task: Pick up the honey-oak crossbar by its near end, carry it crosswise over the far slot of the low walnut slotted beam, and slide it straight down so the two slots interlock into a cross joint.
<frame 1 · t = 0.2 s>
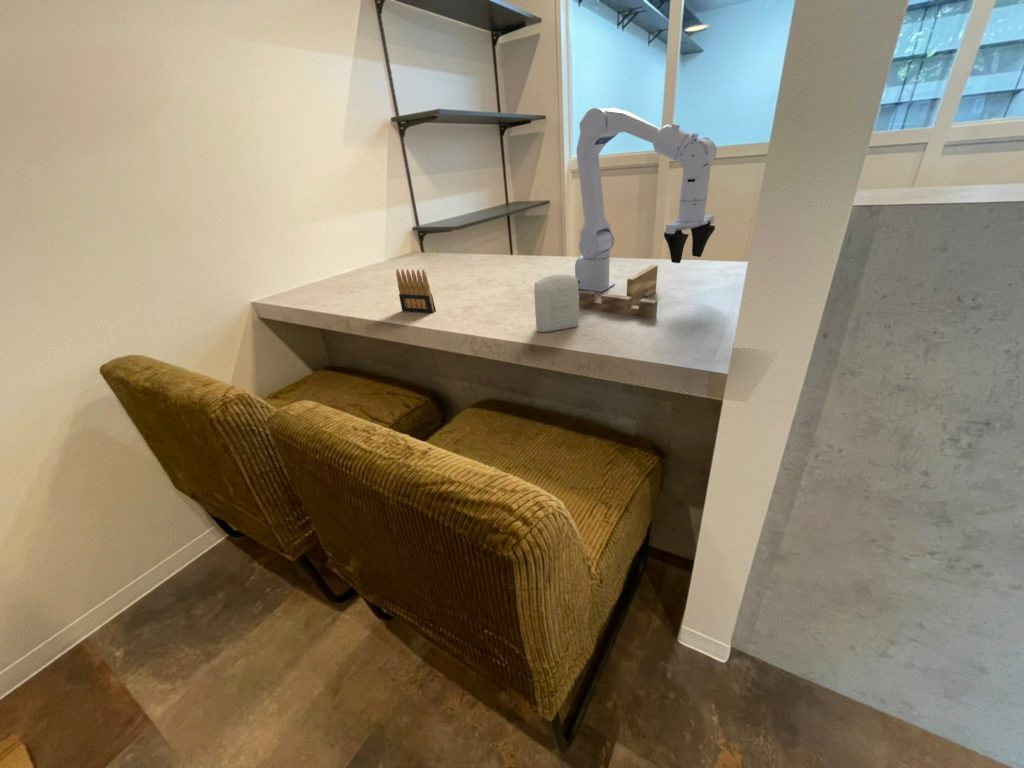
hand: (686, 259, 102), 10 cm above the table, tool pointing down, fingers open, 7 cm apart
miniature gravestone: (557, 328, 98), on the table
slotted beam: (615, 311, 103), on the table
ammunition clip: (419, 311, 119), on the table
crossbar: (641, 298, 110), on the table
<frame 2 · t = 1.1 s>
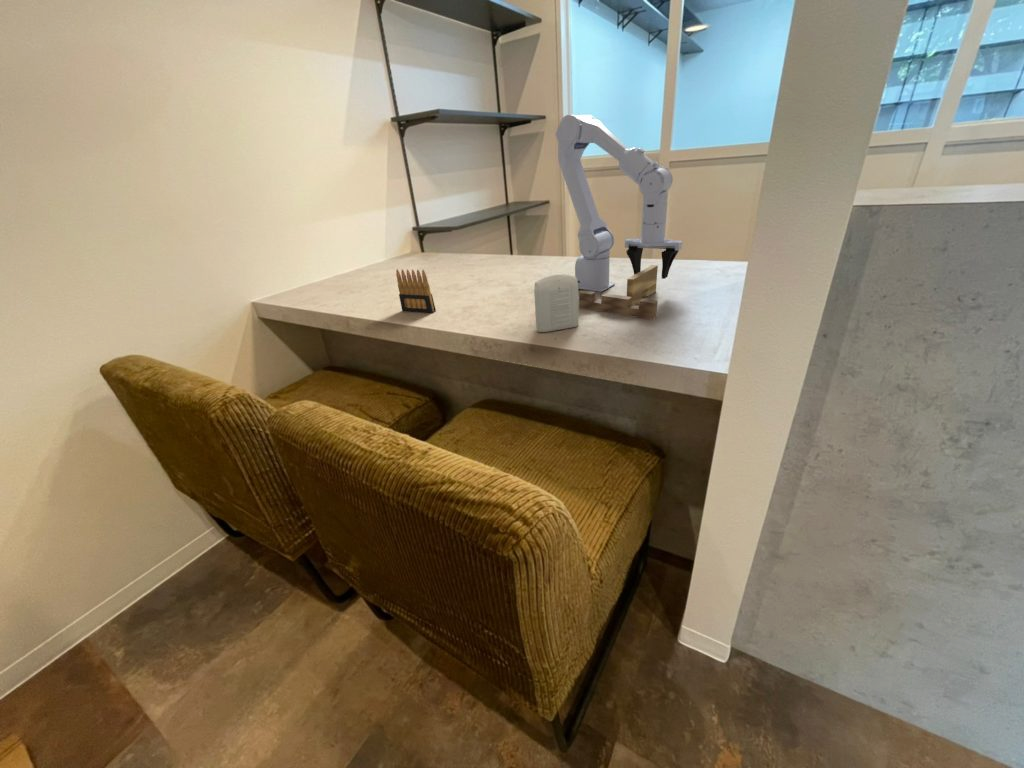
hand: (650, 276, 110), 5 cm above the table, tool pointing down, fingers open, 7 cm apart
nothing on the table moved.
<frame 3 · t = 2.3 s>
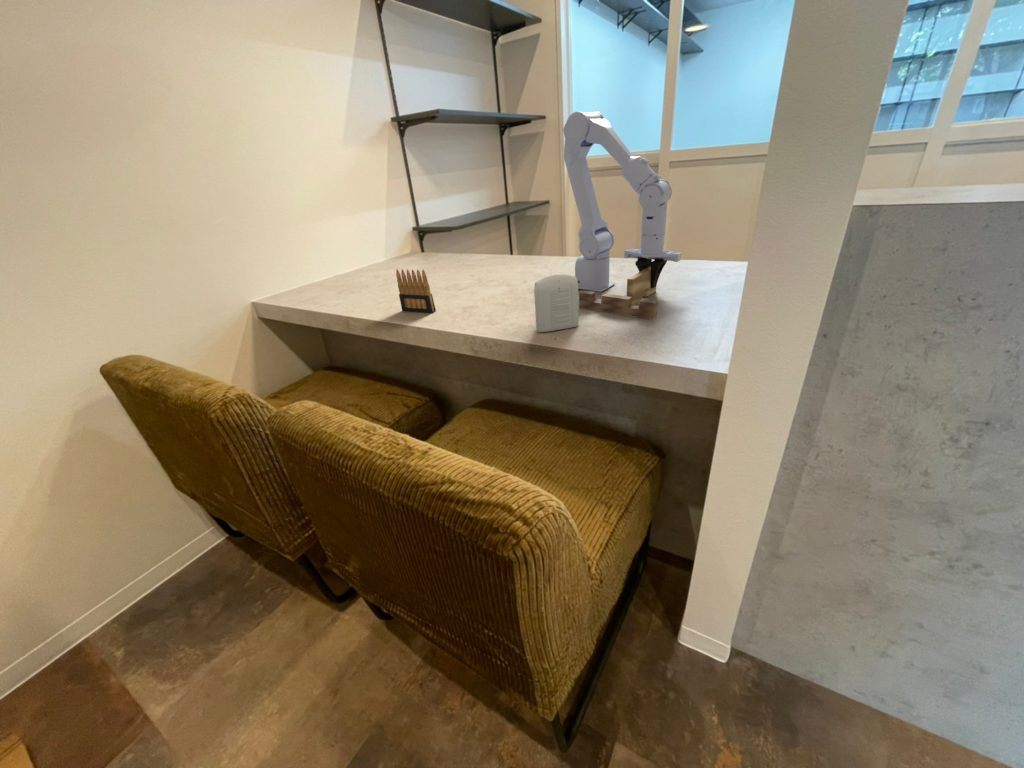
hand: (649, 286, 112), 2 cm above the table, tool pointing down, fingers closed on crossbar, 2 cm apart
crossbar: (641, 298, 110), on the table, touching gripper
everything else where it was.
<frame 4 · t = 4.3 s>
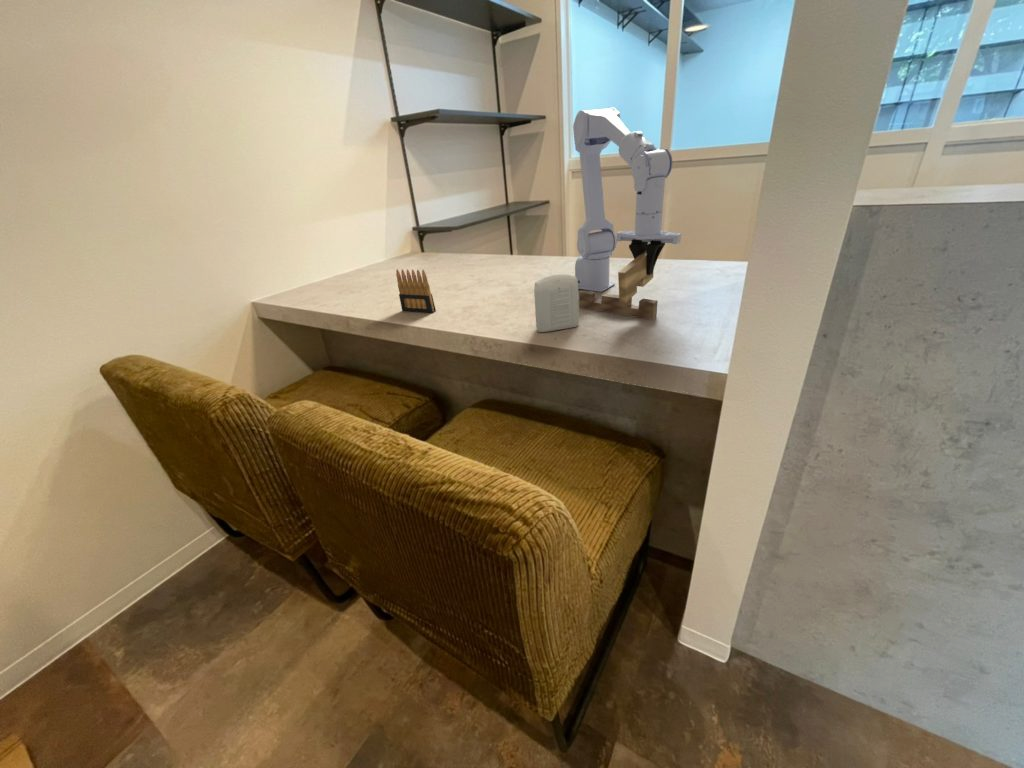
hand: (645, 273, 98), 9 cm above the table, tool pointing down, fingers closed on crossbar
crossbar: (636, 289, 97), point 6 cm above the table, tilted 8°, touching gripper
everything else where it was.
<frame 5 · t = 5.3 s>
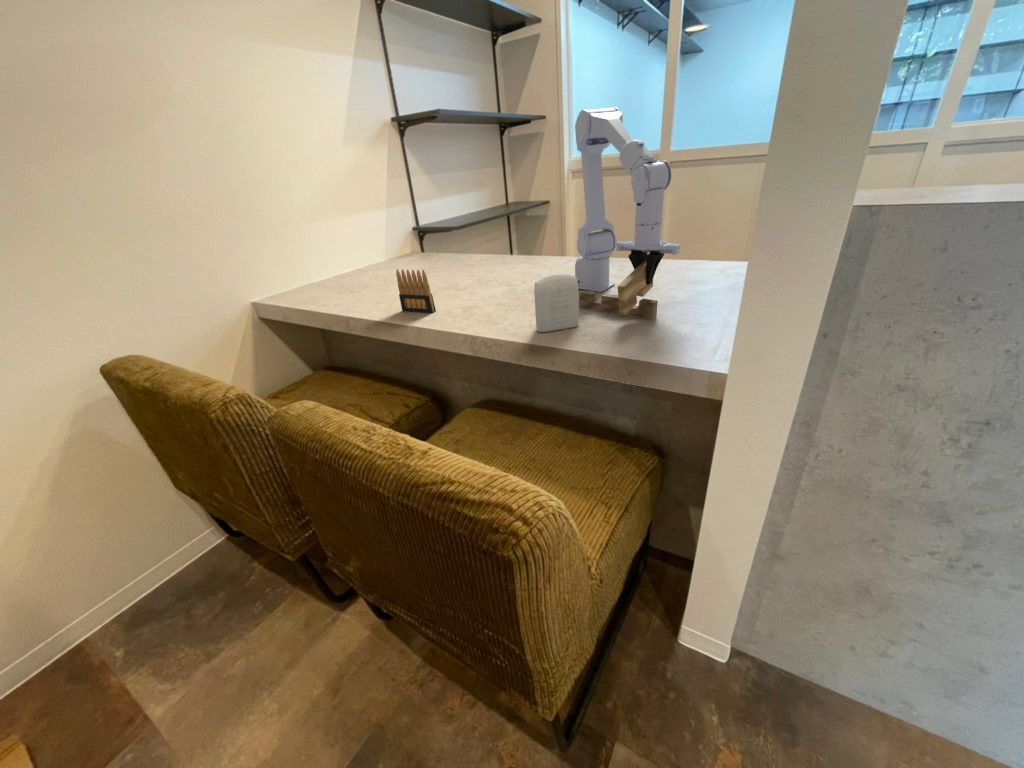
hand: (644, 283, 99), 7 cm above the table, tool pointing down, fingers closed on crossbar
crossbar: (636, 299, 98), point 4 cm above the table, tilted 11°, touching gripper
everything else where it was.
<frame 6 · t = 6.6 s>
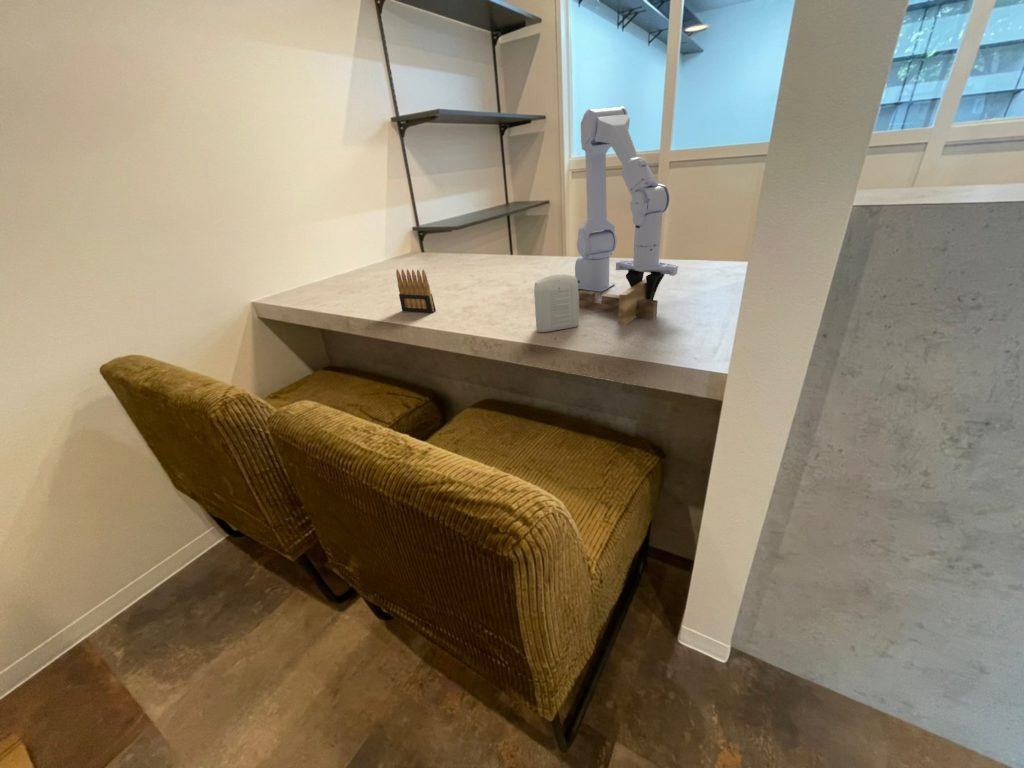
hand: (643, 301, 101), 2 cm above the table, tool pointing down, fingers open, 3 cm apart
crossbar: (635, 314, 100), on the table
everything else where it was.
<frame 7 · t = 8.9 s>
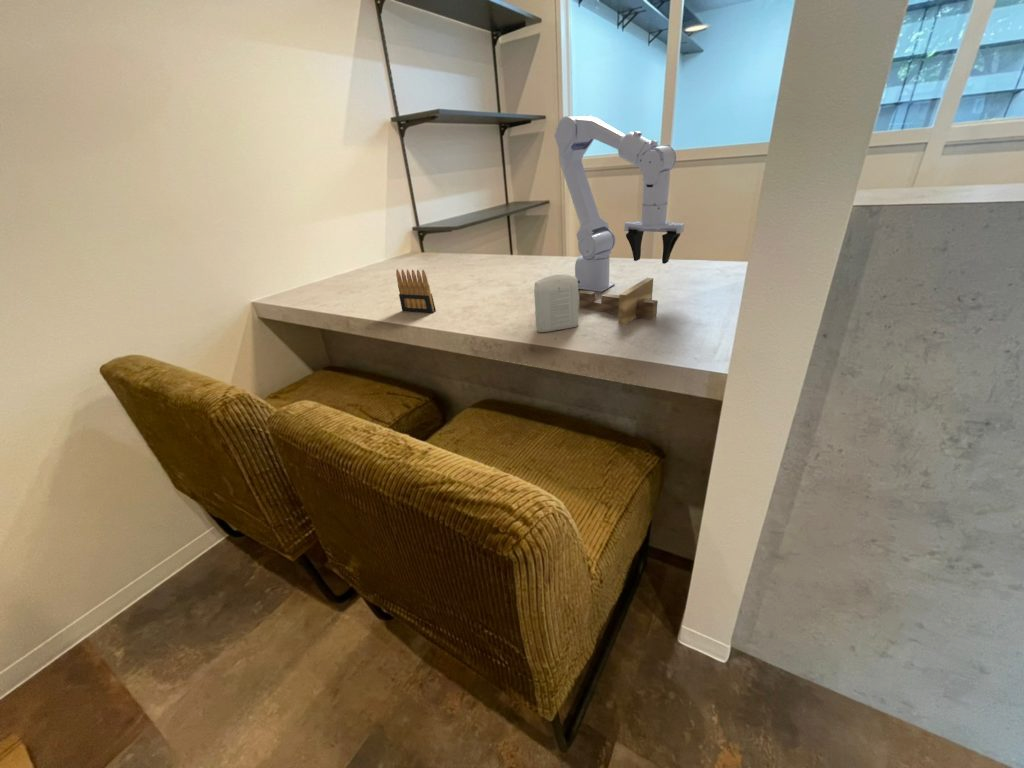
hand: (650, 261, 106), 9 cm above the table, tool pointing down, fingers open, 7 cm apart
nothing on the table moved.
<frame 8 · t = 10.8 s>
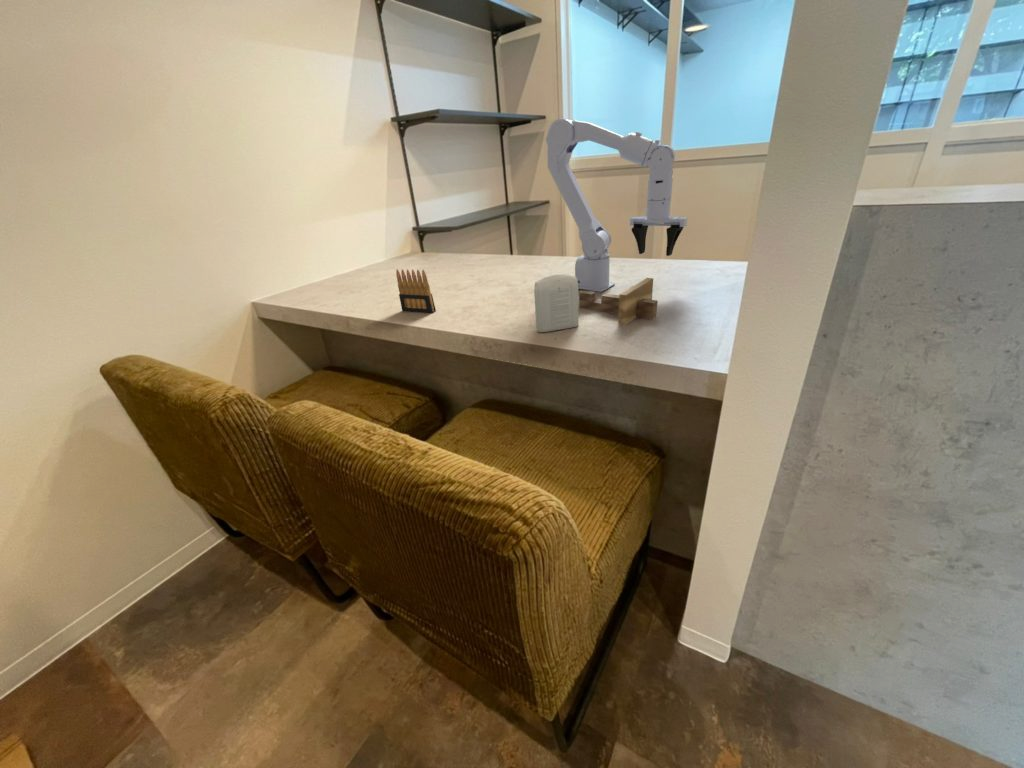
hand: (655, 254, 111), 9 cm above the table, tool pointing down, fingers open, 7 cm apart
nothing on the table moved.
at the end: crossbar 0.5 cm from the target spot on the slotted beam, point 0.0 cm above the slotted beam's base; crossbar tilted 0°; the gripper is holding nothing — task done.
